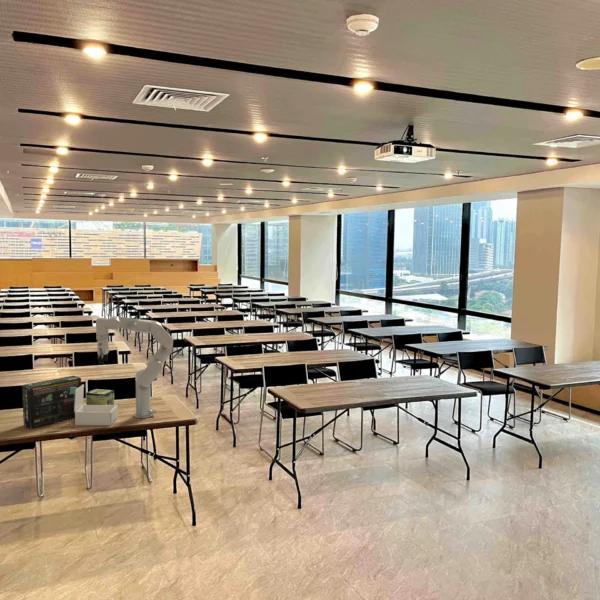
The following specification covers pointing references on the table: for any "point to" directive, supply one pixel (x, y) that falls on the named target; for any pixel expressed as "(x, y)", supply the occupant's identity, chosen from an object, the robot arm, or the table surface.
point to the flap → (77, 396)
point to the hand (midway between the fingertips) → (103, 362)
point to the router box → (49, 401)
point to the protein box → (100, 397)
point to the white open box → (96, 415)
